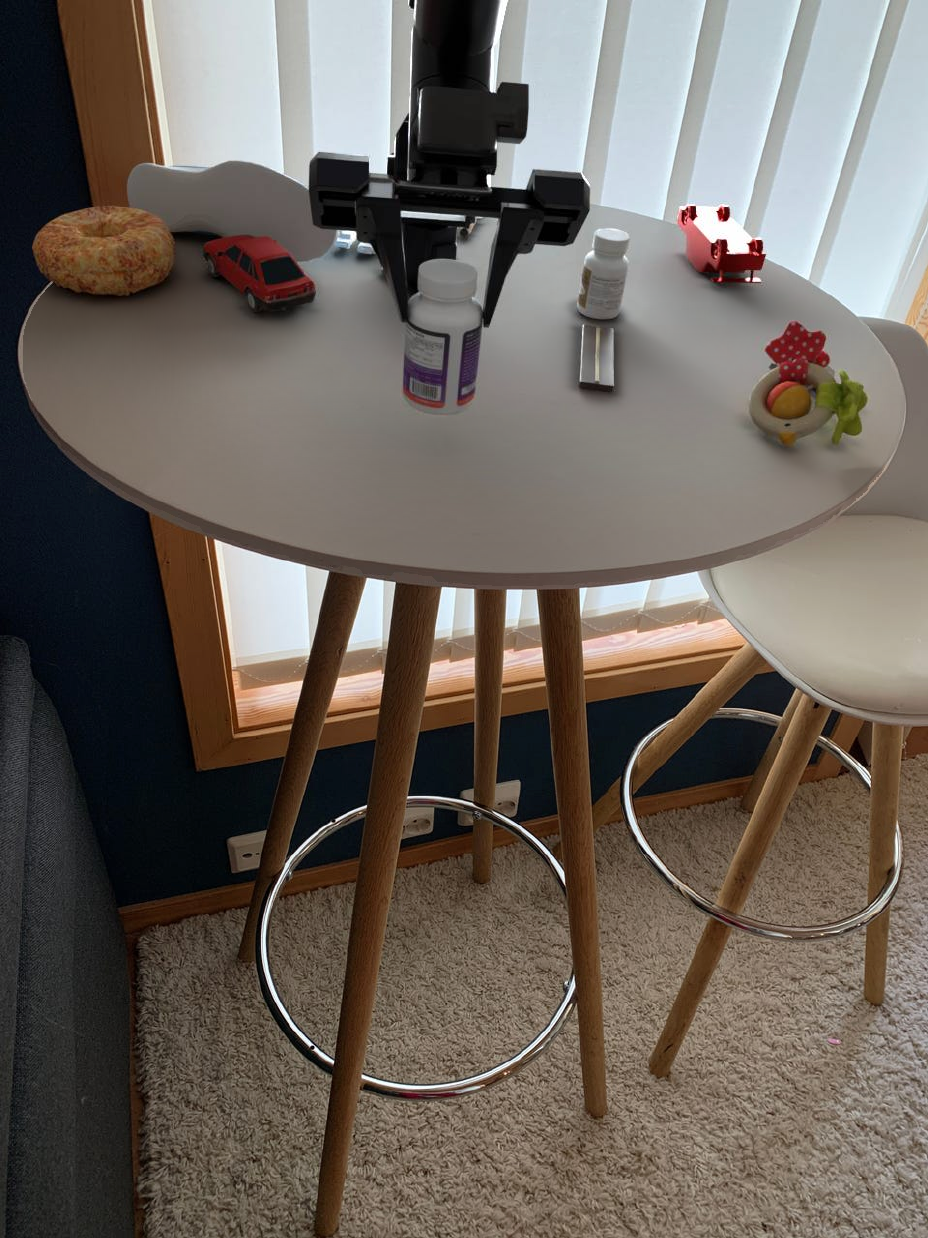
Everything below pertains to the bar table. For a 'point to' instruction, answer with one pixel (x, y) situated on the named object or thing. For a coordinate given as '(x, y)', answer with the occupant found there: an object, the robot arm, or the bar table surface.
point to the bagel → (105, 250)
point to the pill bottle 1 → (442, 339)
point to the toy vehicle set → (348, 238)
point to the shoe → (232, 204)
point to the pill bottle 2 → (604, 275)
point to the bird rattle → (804, 390)
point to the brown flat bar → (597, 358)
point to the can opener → (467, 231)
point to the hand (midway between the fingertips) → (445, 323)
